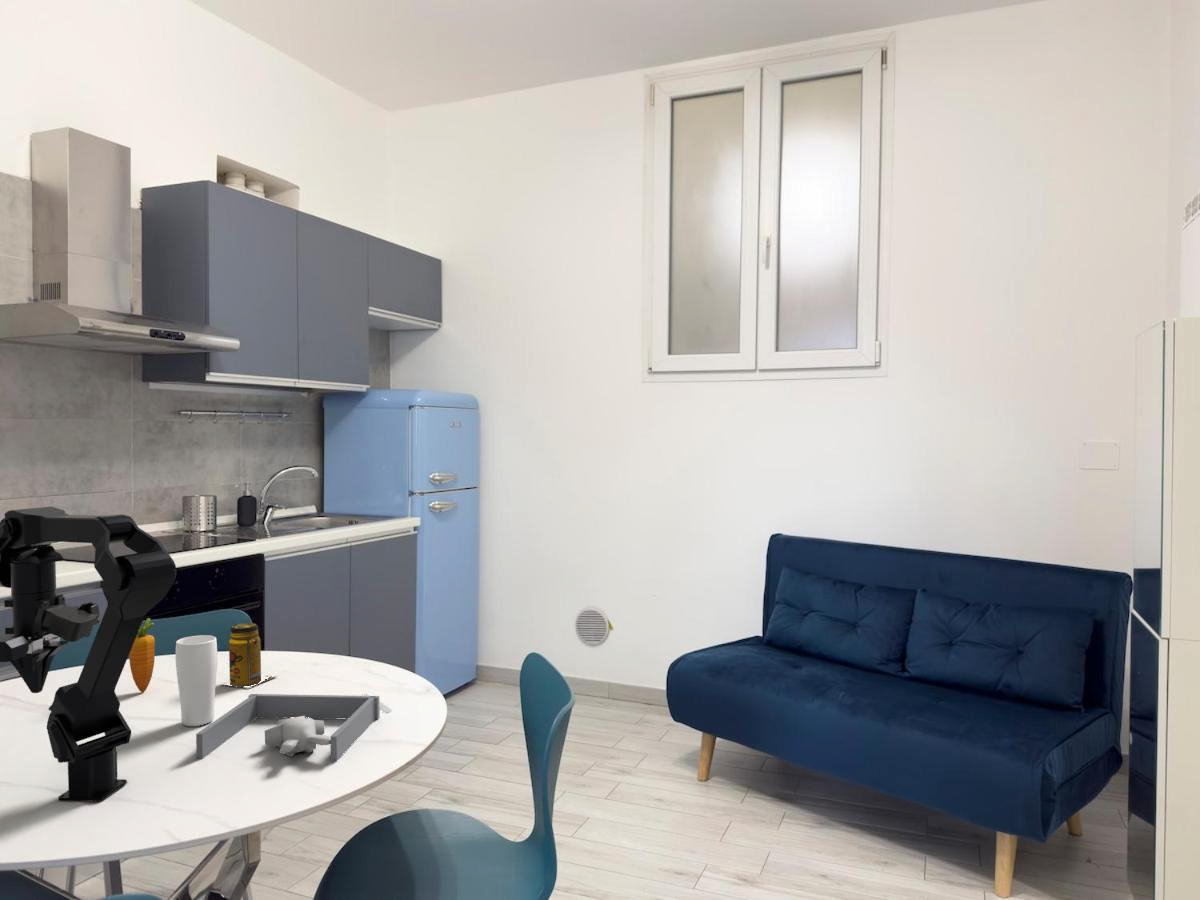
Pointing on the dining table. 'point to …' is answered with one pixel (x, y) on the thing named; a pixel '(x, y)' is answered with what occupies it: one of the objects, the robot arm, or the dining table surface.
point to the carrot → (142, 657)
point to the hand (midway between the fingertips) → (36, 692)
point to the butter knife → (381, 706)
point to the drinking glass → (196, 678)
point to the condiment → (245, 655)
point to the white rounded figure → (297, 735)
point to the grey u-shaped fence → (281, 705)
